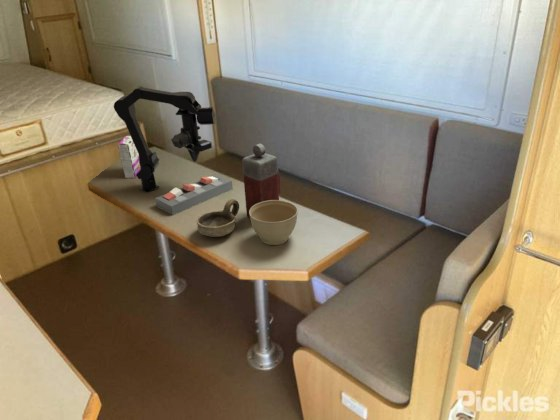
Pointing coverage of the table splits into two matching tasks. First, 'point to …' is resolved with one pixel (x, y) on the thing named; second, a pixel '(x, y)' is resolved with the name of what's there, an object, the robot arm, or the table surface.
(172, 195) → the rocker
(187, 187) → the block
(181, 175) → the table surface
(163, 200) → the power board
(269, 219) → the planter bowl
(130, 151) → the candy bar box
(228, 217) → the bowl
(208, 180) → the rocker
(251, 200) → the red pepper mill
